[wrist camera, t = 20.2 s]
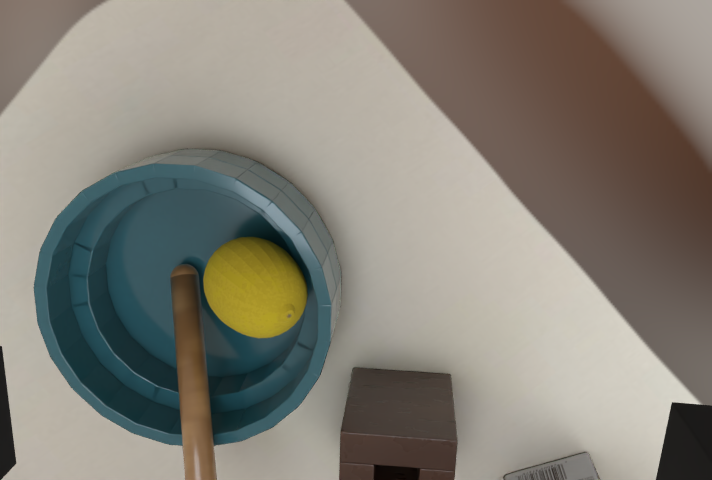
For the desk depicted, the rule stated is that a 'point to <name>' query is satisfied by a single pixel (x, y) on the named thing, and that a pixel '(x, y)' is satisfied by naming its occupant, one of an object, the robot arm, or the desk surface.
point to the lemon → (255, 287)
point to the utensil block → (398, 427)
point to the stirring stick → (192, 375)
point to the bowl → (153, 293)
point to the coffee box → (560, 470)
